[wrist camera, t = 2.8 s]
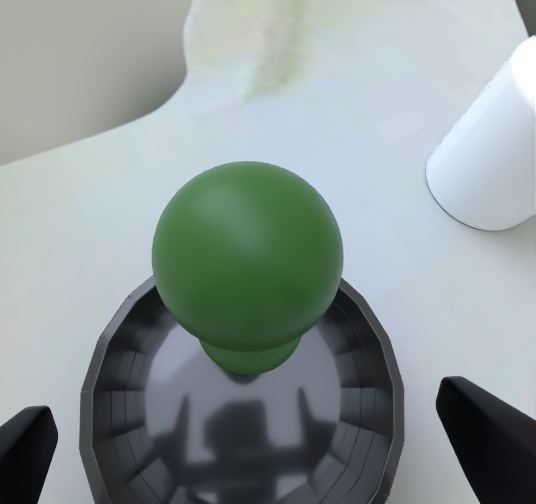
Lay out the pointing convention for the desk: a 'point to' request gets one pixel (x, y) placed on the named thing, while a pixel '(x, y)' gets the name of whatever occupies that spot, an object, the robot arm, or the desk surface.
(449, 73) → the desk surface
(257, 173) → the broccoli
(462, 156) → the pill bottle
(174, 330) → the pan
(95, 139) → the desk surface
